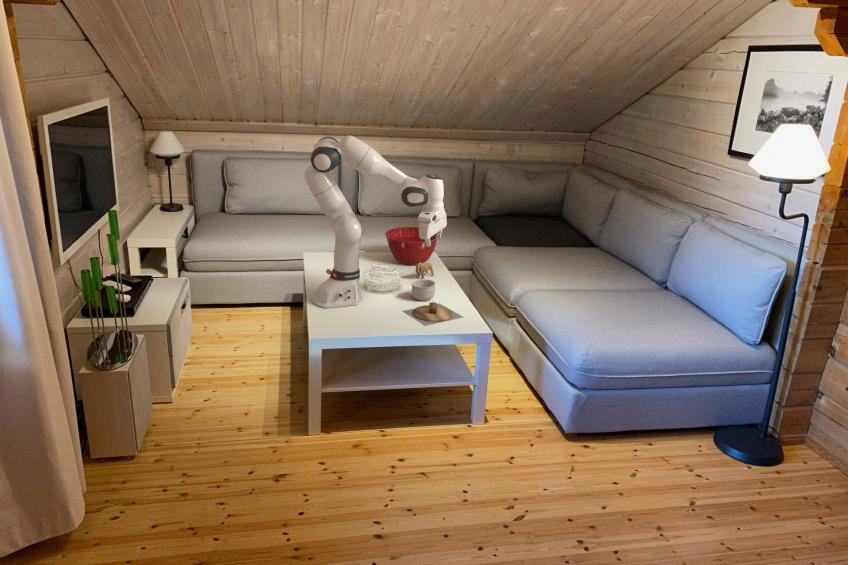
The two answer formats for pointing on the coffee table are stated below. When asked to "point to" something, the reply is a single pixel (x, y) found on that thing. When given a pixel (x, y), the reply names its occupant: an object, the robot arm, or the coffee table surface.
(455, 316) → the mat
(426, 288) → the teacup
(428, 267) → the lion figurine
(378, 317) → the coffee table surface
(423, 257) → the mixing bowl
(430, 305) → the lid
